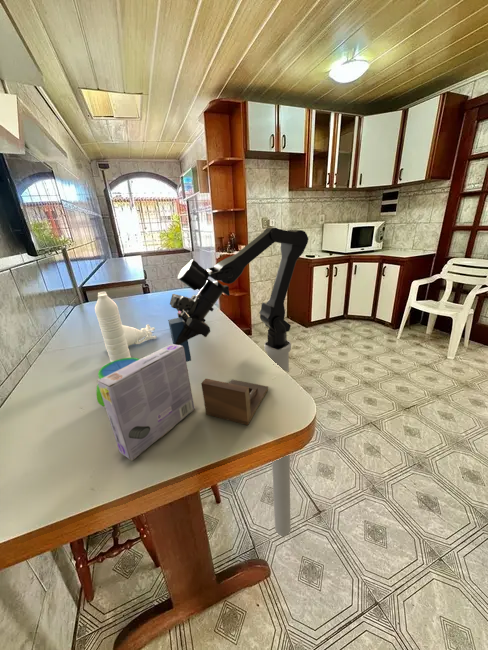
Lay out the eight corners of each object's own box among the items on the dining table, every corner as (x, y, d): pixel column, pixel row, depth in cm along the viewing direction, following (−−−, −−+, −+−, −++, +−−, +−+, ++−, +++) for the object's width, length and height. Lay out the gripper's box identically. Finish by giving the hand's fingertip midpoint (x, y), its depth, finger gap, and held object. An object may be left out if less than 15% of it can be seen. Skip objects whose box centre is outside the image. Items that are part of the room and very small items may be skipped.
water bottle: (110, 361, 93) (89, 291, 83) (130, 356, 95) (112, 288, 86) (112, 372, 85) (89, 298, 76) (133, 366, 88) (114, 293, 79)
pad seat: (231, 382, 76) (228, 354, 72) (268, 389, 71) (267, 360, 68) (206, 414, 64) (201, 383, 61) (248, 425, 60) (245, 392, 56)
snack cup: (139, 379, 80) (131, 350, 77) (165, 388, 76) (157, 356, 72) (90, 412, 68) (78, 378, 64) (118, 424, 63) (106, 389, 59)
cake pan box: (185, 400, 70) (173, 339, 63) (199, 406, 67) (188, 343, 60) (117, 452, 55) (93, 381, 49) (132, 463, 53) (108, 389, 46)
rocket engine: (155, 313, 107) (106, 316, 96) (163, 337, 103) (113, 343, 91) (148, 329, 115) (102, 333, 104) (155, 352, 110) (108, 359, 99)
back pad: (188, 355, 85) (181, 316, 80) (191, 360, 81) (184, 321, 76) (175, 358, 83) (168, 319, 78) (178, 364, 80) (170, 324, 75)
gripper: (177, 277, 83) (148, 318, 83) (192, 290, 67) (155, 340, 67) (205, 297, 88) (177, 335, 89) (224, 313, 72) (191, 359, 73)
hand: (175, 341), depth 79 cm, fingers closed on back pad, 4 cm apart
